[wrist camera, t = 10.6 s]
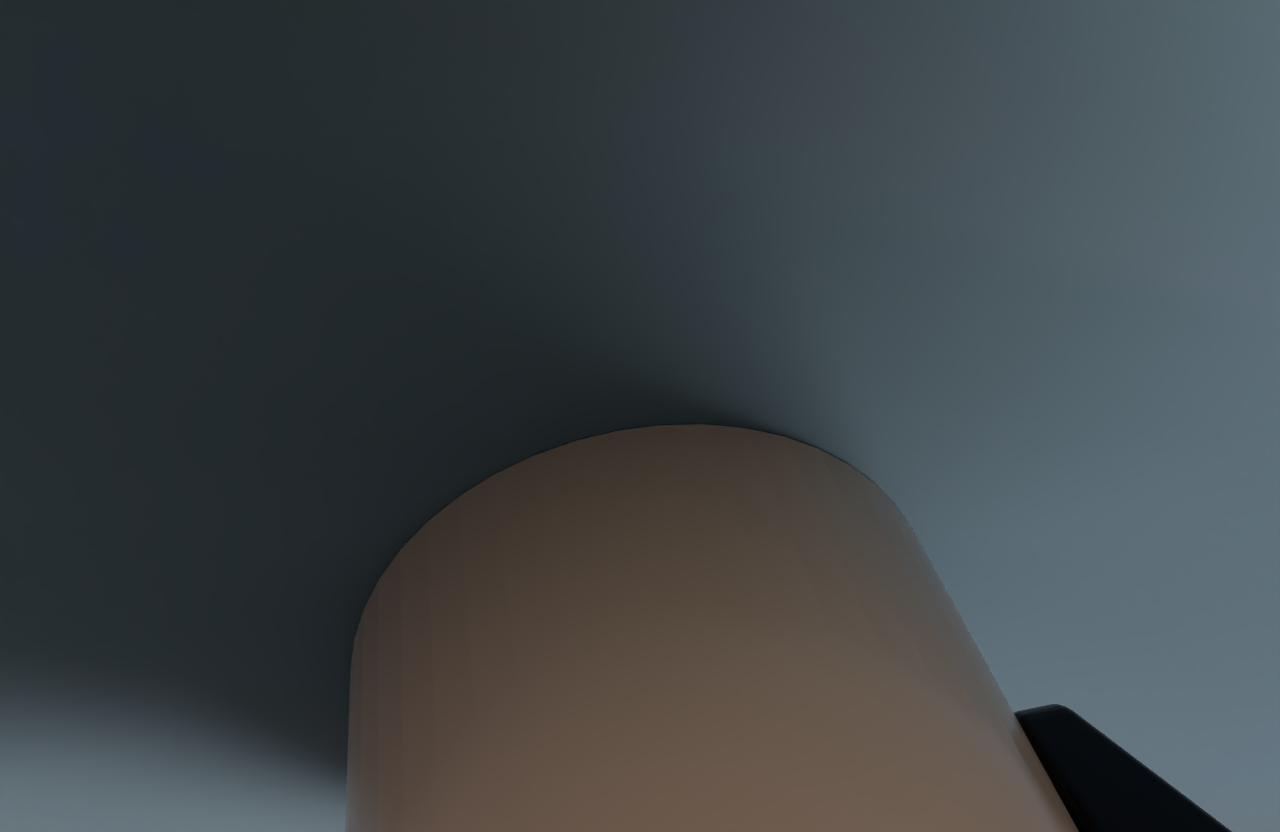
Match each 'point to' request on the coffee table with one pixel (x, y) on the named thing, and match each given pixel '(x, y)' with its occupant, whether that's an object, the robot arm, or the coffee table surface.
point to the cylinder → (678, 656)
